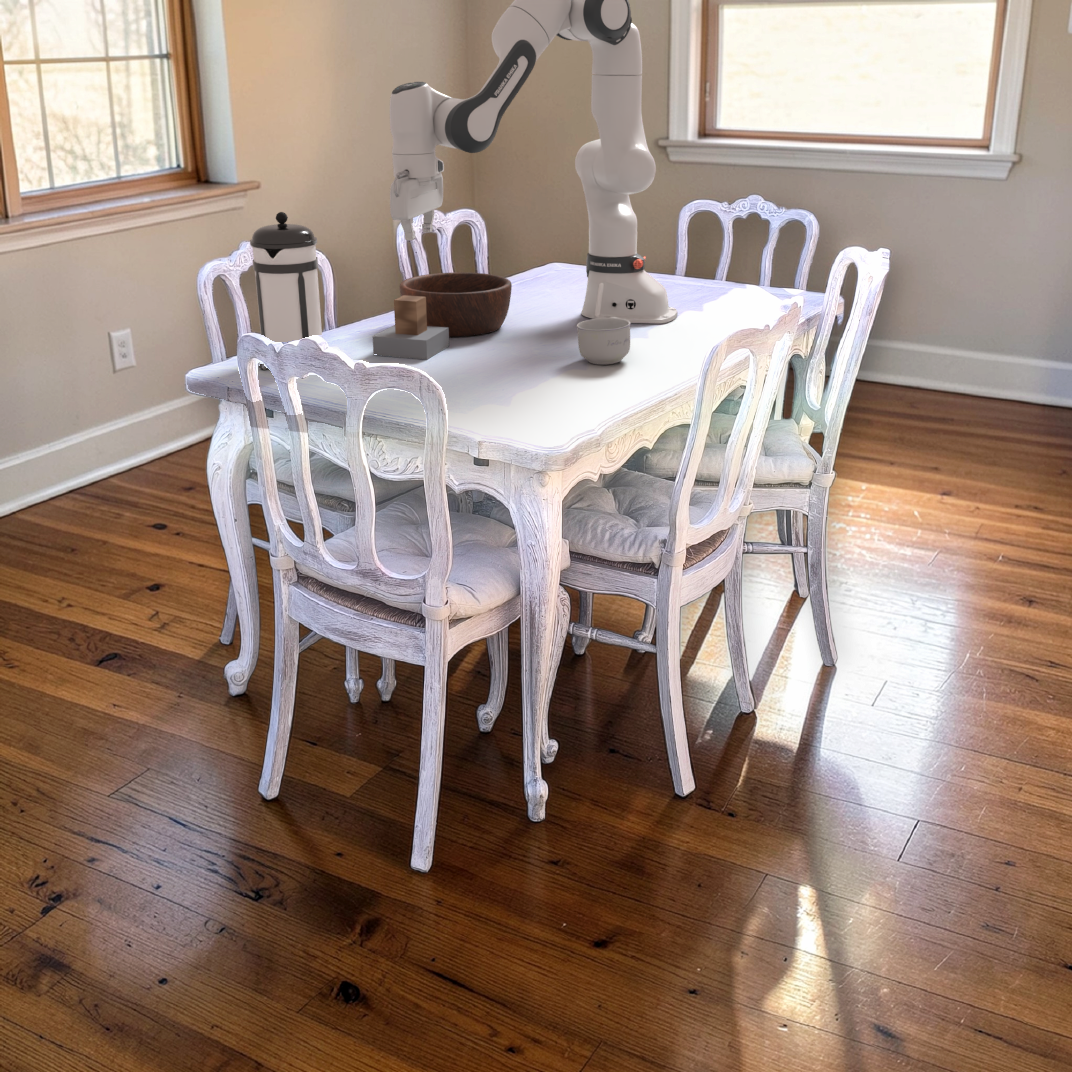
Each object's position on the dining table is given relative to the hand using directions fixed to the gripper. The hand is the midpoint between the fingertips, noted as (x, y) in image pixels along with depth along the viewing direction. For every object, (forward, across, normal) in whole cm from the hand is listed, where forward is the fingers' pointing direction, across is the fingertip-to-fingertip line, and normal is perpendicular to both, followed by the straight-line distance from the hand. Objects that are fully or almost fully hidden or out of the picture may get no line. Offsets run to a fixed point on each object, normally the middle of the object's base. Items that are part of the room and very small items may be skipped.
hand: (419, 236), depth 253 cm
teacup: (+23, -4, -41) cm, 48 cm away
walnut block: (+18, -8, 0) cm, 20 cm away
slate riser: (+22, -8, 0) cm, 24 cm away
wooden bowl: (+23, +15, -2) cm, 27 cm away
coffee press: (+22, -24, +19) cm, 38 cm away
